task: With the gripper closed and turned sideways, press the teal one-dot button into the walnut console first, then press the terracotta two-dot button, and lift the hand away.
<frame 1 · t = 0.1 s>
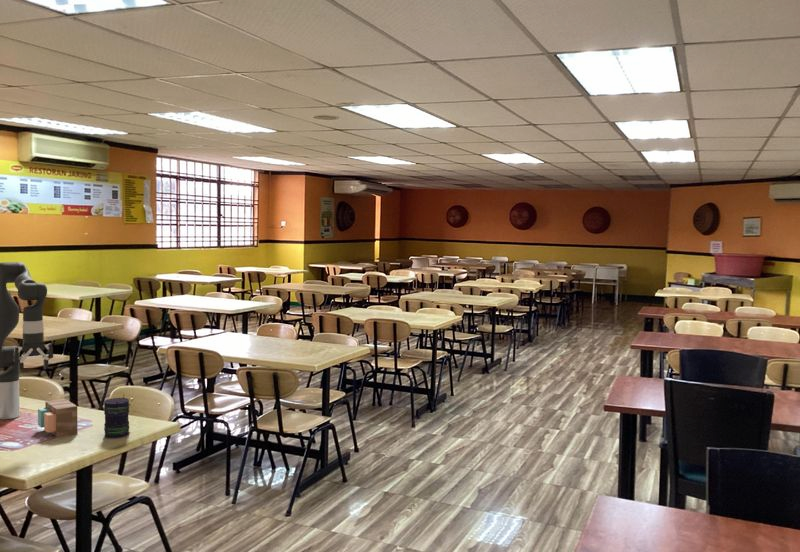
hand: (33, 370, 265), 29 cm above the table, tool pointing down, fingers open, 8 cm apart
sundae: (122, 427, 286), on the table
teal button: (47, 416, 279), point 6 cm above the table, slide at 0.0 cm
terracotta button: (53, 421, 272), point 6 cm above the table, slide at 0.0 cm
dark blue barrel: (116, 435, 275), on the table
walnut console: (61, 431, 279), on the table
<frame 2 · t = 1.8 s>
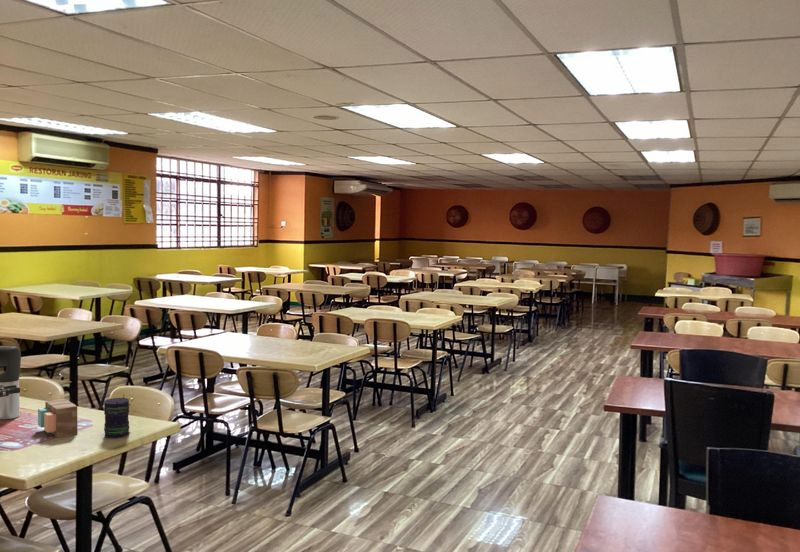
hand: (17, 388, 271), 20 cm above the table, tool horizontal, fingers open, 5 cm apart
nothing on the table moved.
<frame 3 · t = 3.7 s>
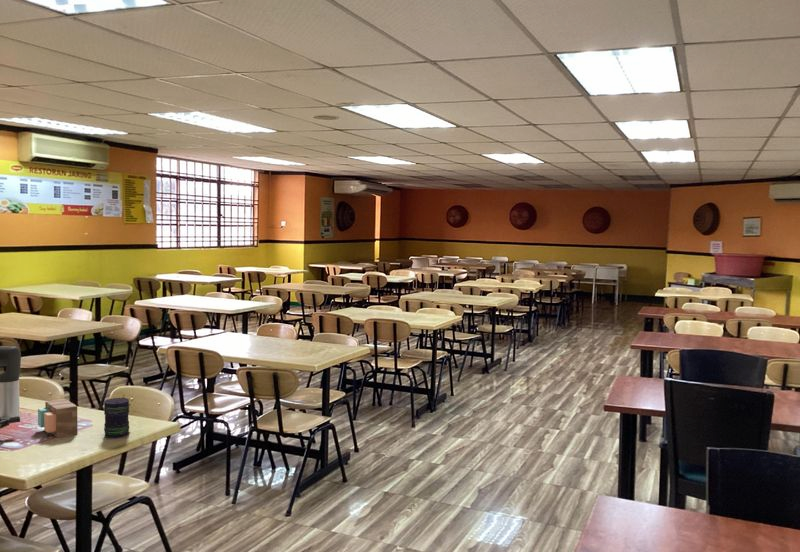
hand: (19, 418, 272), 7 cm above the table, tool horizontal, fingers closed
nothing on the table moved.
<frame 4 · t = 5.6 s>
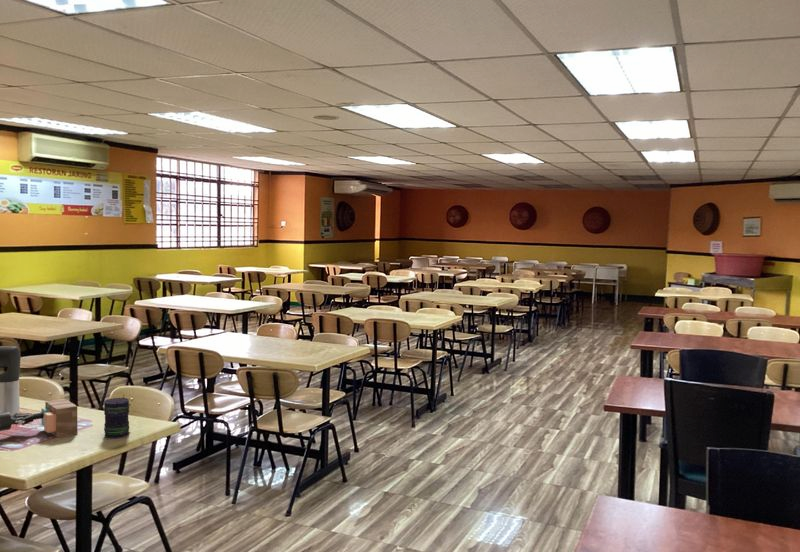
hand: (42, 415, 278), 7 cm above the table, tool horizontal, fingers closed
teal button: (50, 416, 280), point 6 cm above the table, slide at 1.3 cm, touching gripper
everything else where it was.
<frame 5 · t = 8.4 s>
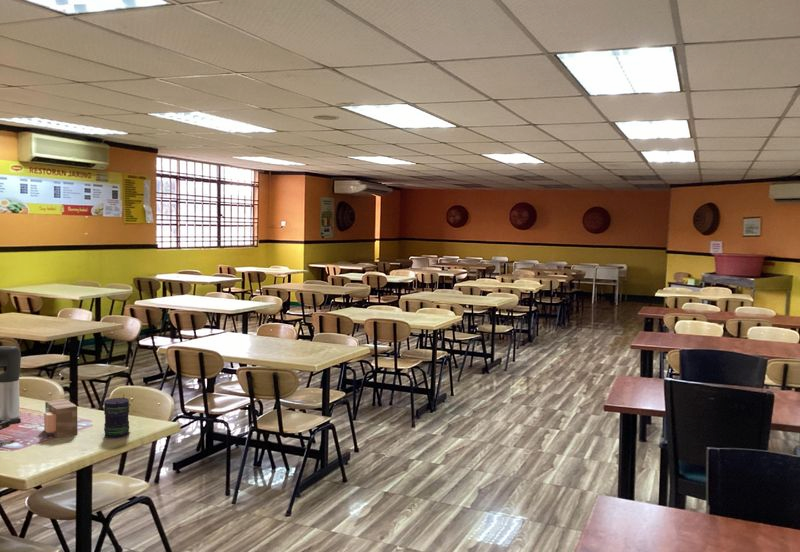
hand: (20, 420, 270), 7 cm above the table, tool horizontal, fingers closed
teal button: (54, 415, 281), point 6 cm above the table, slide at 3.1 cm
everything else where it was.
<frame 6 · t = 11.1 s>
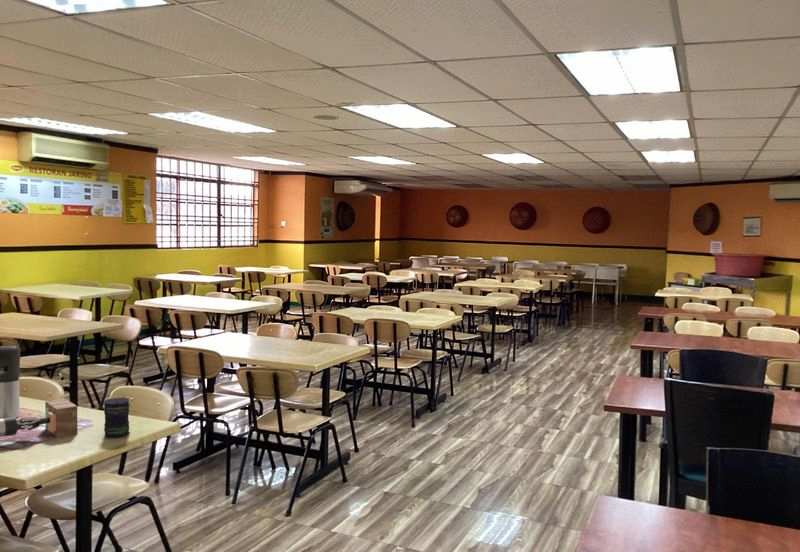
hand: (49, 420, 271), 7 cm above the table, tool horizontal, fingers closed
terracotta button: (57, 420, 273), point 6 cm above the table, slide at 1.4 cm, touching gripper
everything else where it was.
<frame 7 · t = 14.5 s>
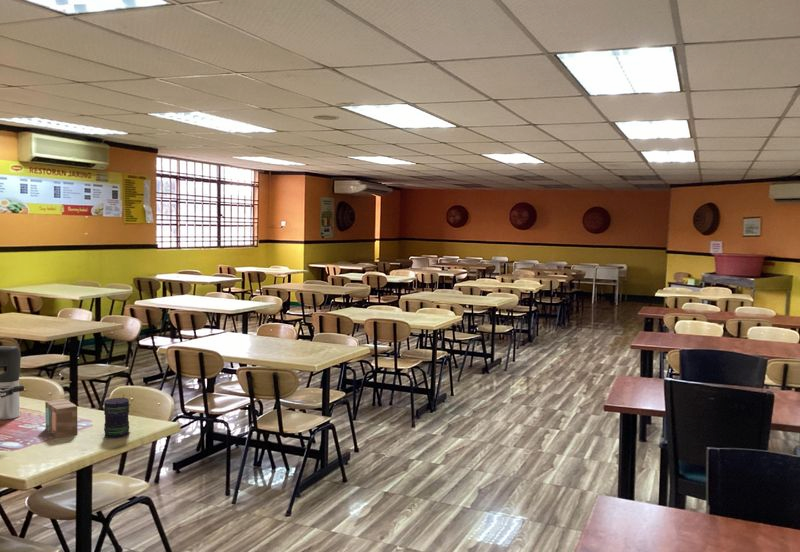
hand: (23, 388, 267), 21 cm above the table, tool horizontal, fingers closed
terracotta button: (61, 420, 275), point 6 cm above the table, slide at 3.0 cm
everything else where it was.
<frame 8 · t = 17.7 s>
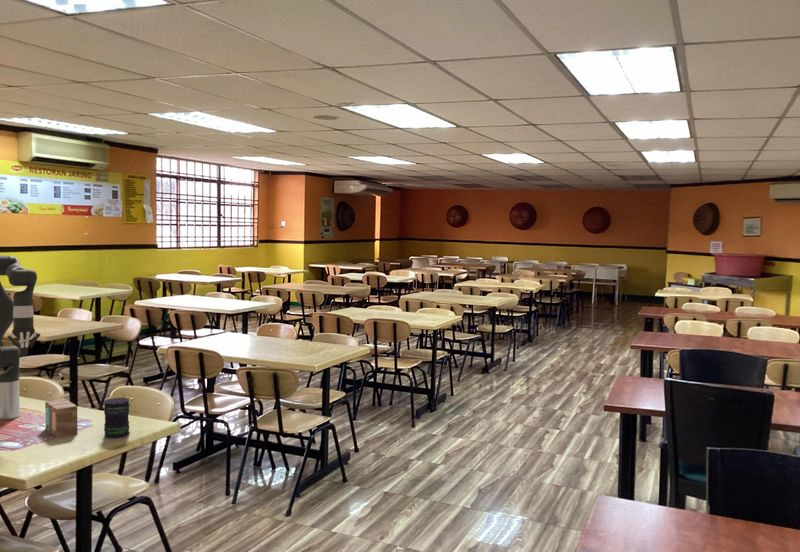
hand: (23, 356, 276), 33 cm above the table, tool pointing down, fingers closed
nothing on the table moved.
at the end: teal button slide at 3.1 cm; terracotta button slide at 3.0 cm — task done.
